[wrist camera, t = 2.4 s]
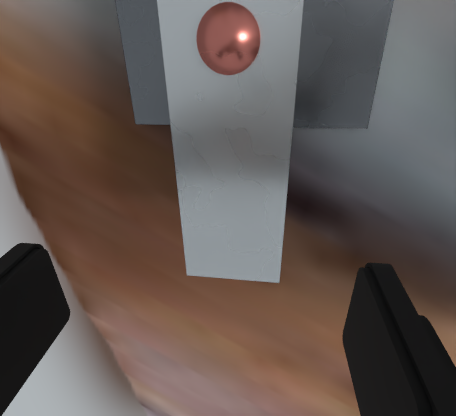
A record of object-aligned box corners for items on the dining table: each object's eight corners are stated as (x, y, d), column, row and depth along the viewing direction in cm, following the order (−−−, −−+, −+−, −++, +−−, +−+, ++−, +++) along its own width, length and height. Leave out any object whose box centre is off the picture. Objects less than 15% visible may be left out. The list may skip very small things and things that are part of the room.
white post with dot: (307, -147, 9) (326, -260, 6) (278, 230, 16) (279, 286, 13) (181, -136, 10) (128, -232, 6) (205, 225, 17) (185, 278, 13)
